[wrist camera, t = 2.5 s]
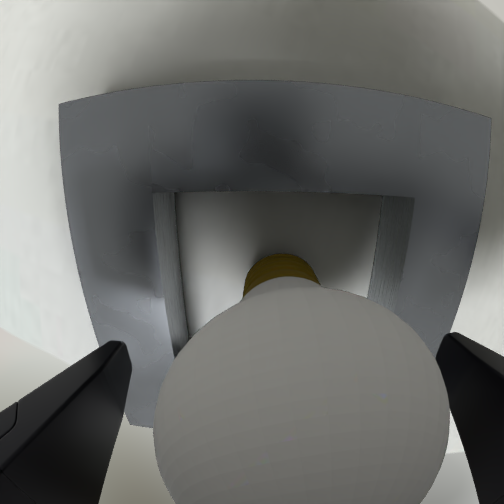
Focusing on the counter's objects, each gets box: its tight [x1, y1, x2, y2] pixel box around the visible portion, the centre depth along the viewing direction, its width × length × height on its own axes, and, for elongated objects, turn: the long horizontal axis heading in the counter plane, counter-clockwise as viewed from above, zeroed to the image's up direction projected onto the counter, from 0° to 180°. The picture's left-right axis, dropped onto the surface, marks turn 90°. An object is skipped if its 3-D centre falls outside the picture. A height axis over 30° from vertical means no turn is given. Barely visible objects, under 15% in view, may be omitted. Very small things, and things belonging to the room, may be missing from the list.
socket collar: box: [59, 80, 491, 428], centre depth 11 cm, size 14×14×2 cm
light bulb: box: [153, 254, 450, 504], centre depth 7 cm, size 6×6×10 cm
